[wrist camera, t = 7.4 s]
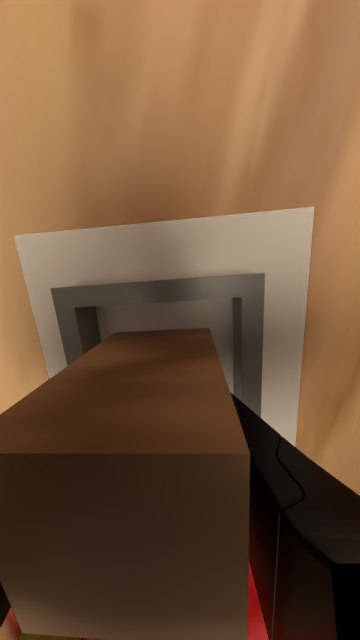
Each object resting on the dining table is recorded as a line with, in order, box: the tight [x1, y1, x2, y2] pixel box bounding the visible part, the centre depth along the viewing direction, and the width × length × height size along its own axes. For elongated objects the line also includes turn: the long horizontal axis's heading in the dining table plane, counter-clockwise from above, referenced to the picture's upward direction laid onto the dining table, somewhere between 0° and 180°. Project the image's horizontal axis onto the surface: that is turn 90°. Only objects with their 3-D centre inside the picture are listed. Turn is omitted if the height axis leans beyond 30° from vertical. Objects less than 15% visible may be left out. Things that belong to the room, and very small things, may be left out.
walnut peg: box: [0, 328, 250, 640], centre depth 7 cm, size 5×5×7 cm
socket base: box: [14, 207, 314, 446], centre depth 11 cm, size 16×16×3 cm
